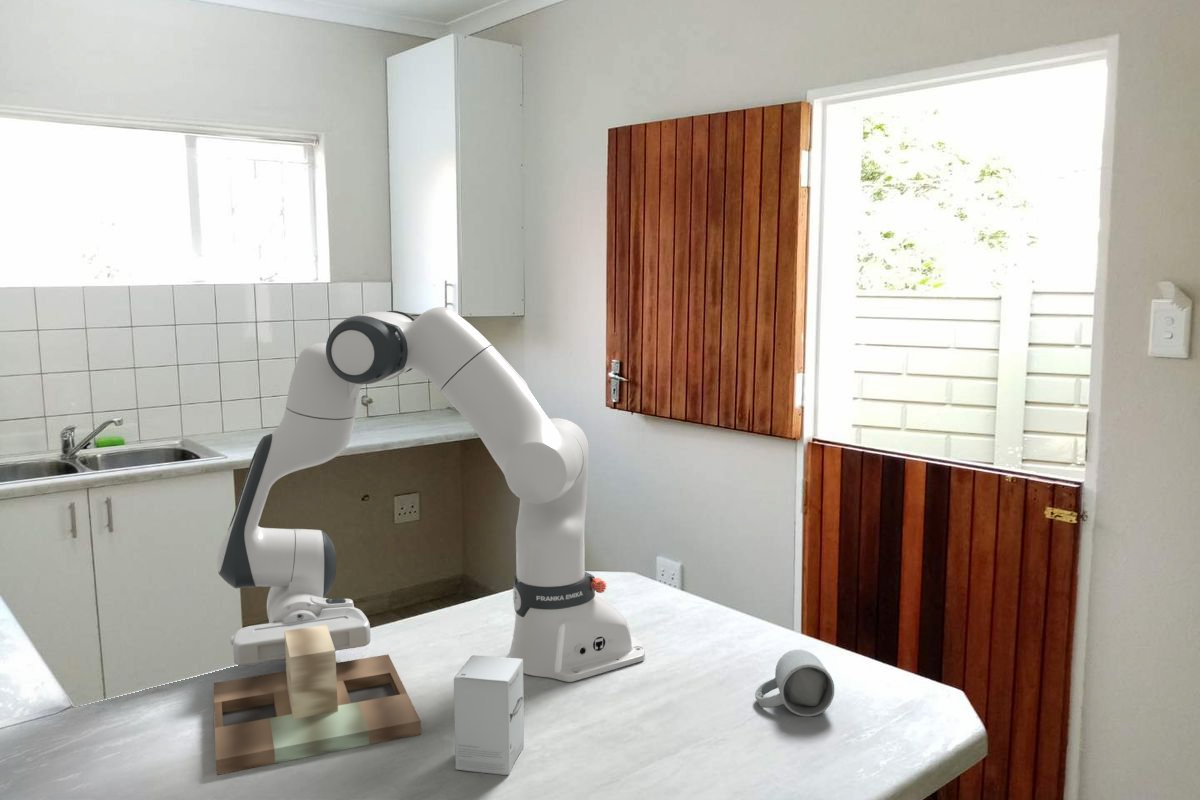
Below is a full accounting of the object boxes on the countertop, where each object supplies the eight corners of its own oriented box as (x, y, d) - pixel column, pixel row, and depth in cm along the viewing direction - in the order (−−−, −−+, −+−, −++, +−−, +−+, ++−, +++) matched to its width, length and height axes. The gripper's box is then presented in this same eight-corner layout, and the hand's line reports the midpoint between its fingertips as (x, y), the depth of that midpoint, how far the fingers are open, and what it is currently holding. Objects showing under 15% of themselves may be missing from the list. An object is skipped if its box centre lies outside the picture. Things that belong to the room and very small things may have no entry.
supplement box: (509, 776, 116) (508, 681, 115) (453, 770, 118) (451, 676, 116) (526, 747, 123) (524, 657, 122) (473, 741, 125) (471, 653, 123)
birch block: (329, 681, 139) (326, 624, 137) (338, 711, 129) (335, 650, 128) (287, 689, 136) (284, 630, 135) (293, 719, 127) (289, 657, 126)
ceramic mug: (820, 691, 140) (821, 642, 139) (834, 717, 132) (835, 665, 131) (750, 692, 140) (750, 644, 139) (760, 718, 132) (760, 667, 130)
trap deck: (388, 666, 149) (388, 654, 149) (421, 734, 127) (420, 720, 127) (214, 695, 139) (213, 682, 138) (216, 774, 117) (215, 760, 117)
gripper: (228, 615, 145) (230, 648, 132) (361, 597, 153) (375, 626, 140) (231, 653, 146) (233, 690, 133) (363, 633, 154) (377, 665, 141)
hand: (307, 657), depth 137 cm, fingers closed, pressing on birch block
